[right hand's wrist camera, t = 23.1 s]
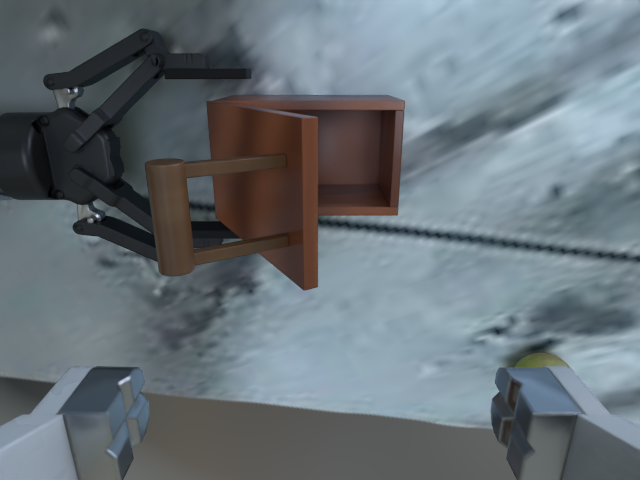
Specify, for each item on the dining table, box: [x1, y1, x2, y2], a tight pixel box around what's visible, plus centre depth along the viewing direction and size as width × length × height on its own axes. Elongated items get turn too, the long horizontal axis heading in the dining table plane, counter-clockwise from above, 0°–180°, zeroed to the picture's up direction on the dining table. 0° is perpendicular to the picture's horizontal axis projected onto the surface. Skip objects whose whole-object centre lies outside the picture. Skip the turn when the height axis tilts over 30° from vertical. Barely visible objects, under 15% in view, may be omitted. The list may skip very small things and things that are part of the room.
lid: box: [145, 101, 318, 290], centre depth 29 cm, size 16×10×8 cm
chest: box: [214, 95, 405, 215], centre depth 42 cm, size 15×10×9 cm, turn 90°
